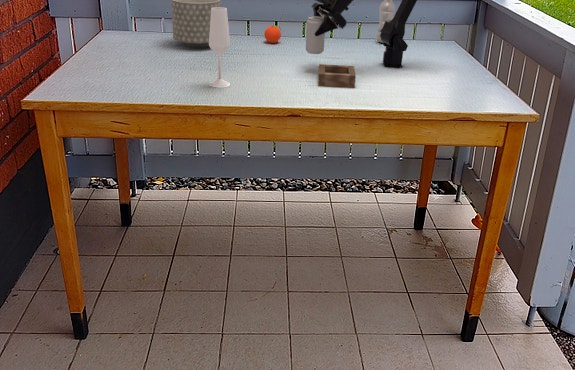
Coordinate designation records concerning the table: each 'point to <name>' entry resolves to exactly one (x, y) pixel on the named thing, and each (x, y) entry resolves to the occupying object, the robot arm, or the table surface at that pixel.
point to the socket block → (336, 76)
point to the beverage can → (314, 42)
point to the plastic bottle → (385, 15)
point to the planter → (192, 21)
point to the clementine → (272, 34)
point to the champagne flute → (219, 40)
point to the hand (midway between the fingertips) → (311, 33)
